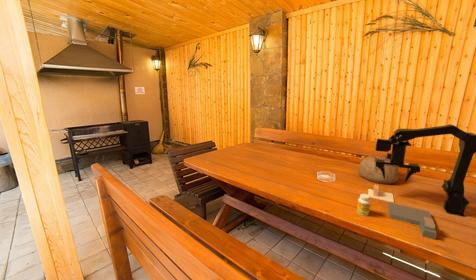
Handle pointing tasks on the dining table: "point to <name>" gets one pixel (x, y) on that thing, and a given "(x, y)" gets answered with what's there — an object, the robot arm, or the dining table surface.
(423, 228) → the case
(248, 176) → the dining table surface
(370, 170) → the bread
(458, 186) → the robot arm
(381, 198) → the cover
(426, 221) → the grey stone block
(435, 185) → the dining table surface
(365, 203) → the supplement bottle
